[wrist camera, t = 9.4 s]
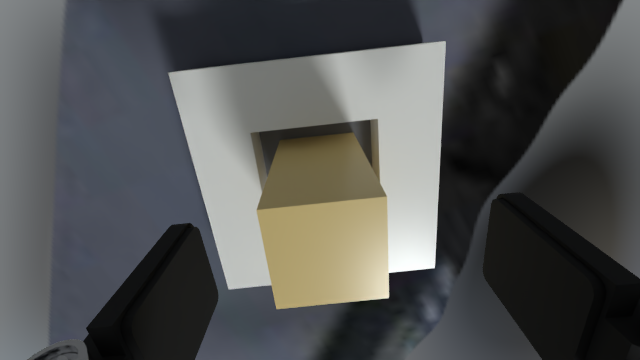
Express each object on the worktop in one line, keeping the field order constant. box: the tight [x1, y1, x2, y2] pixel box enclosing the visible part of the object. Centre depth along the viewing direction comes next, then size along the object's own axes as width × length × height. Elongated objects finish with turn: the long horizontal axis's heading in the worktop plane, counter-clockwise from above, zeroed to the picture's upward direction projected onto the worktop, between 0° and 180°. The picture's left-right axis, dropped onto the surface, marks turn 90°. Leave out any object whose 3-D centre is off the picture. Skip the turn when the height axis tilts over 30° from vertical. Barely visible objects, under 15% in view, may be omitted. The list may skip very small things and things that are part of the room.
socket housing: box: [168, 41, 446, 289], centre depth 17 cm, size 12×12×2 cm
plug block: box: [256, 132, 389, 309], centre depth 14 cm, size 4×4×8 cm
